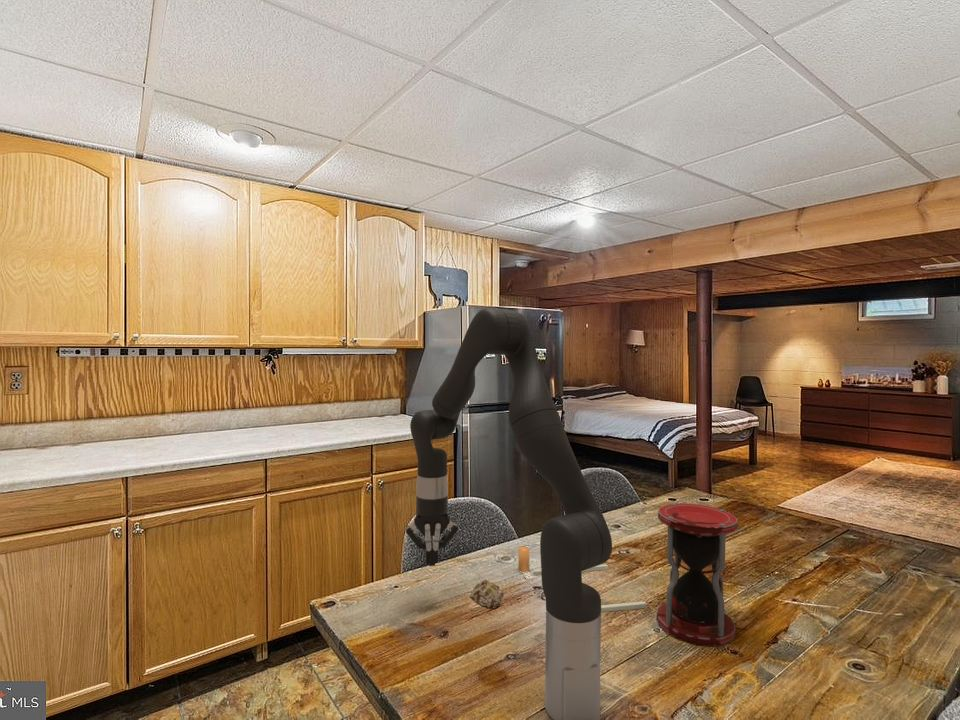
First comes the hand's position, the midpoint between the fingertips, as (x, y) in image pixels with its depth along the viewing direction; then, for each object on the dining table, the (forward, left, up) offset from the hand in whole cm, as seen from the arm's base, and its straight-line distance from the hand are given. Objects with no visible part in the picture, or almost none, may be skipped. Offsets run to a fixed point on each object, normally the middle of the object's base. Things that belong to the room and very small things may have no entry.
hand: (431, 564), depth 123 cm
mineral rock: (0, -14, -10) cm, 17 cm away
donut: (+8, -75, -10) cm, 76 cm away
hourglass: (-20, -57, -9) cm, 61 cm away
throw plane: (0, -37, -9) cm, 38 cm away
